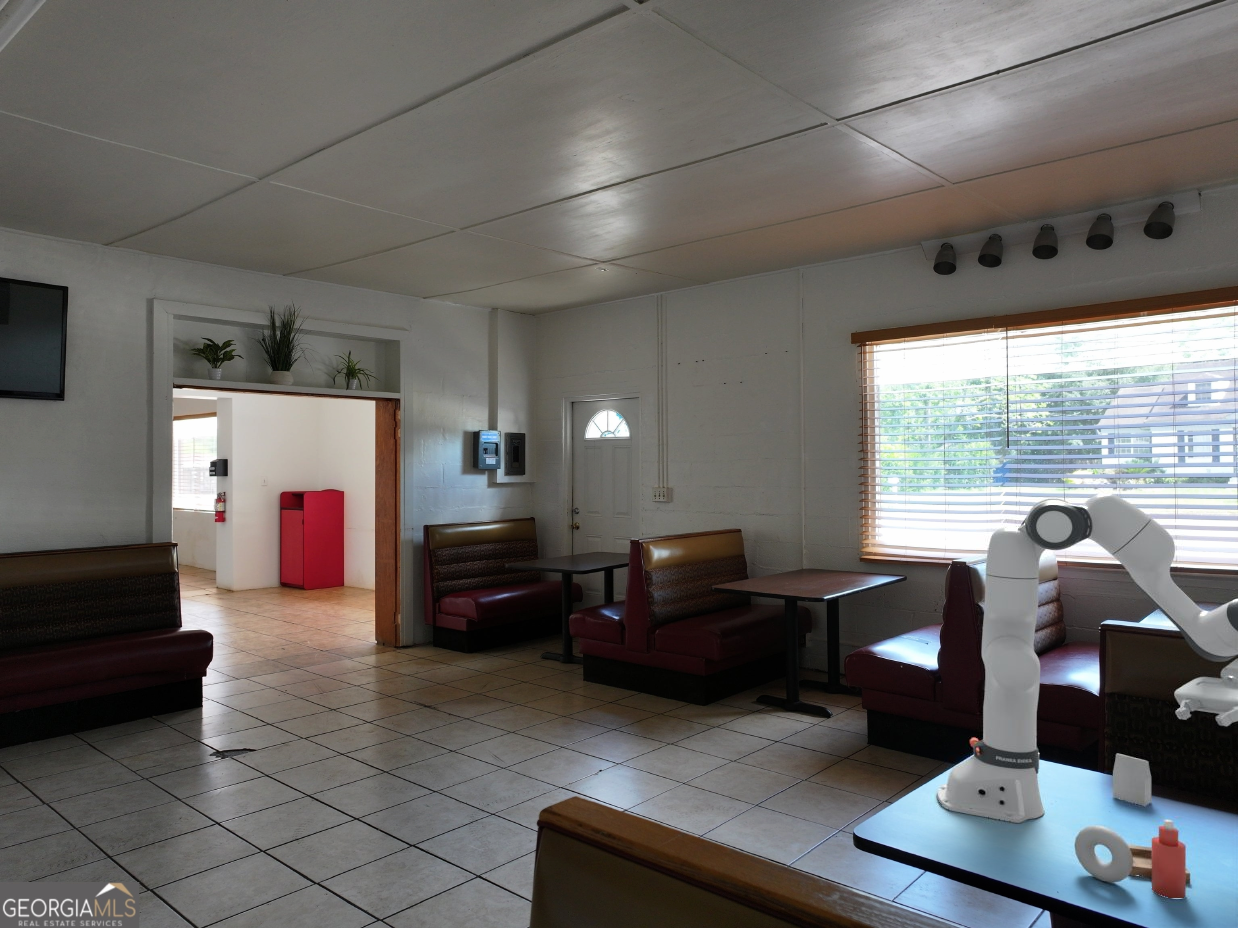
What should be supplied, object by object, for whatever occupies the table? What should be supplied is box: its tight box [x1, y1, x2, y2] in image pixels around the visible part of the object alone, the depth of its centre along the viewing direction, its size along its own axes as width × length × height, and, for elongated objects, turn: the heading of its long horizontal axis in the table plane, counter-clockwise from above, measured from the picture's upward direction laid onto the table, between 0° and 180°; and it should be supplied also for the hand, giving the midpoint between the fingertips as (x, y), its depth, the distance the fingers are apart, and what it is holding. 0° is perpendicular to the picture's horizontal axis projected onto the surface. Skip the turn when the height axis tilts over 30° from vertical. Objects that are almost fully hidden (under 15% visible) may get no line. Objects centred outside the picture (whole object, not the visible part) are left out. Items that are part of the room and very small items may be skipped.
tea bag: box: [1112, 753, 1152, 807], centre depth 194 cm, size 4×7×10 cm, turn 38°
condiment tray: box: [1128, 844, 1191, 884], centre depth 162 cm, size 10×10×2 cm
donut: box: [1074, 824, 1133, 884], centre depth 156 cm, size 10×4×10 cm, turn 39°
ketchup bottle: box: [1151, 819, 1187, 899], centre depth 152 cm, size 5×5×13 cm
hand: (1199, 719), depth 162 cm, fingers open, 8 cm apart
